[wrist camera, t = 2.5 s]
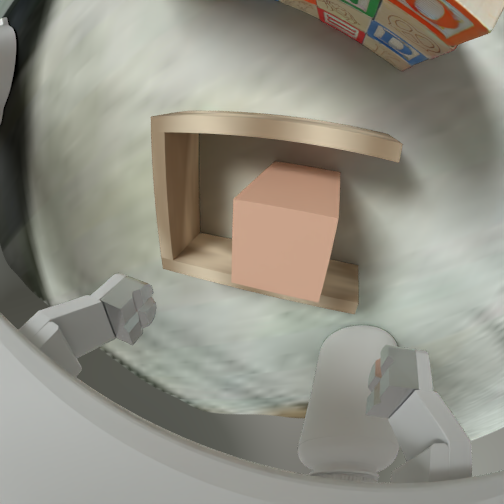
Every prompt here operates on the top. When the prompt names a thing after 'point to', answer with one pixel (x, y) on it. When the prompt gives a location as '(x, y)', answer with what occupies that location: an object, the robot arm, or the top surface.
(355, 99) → the top surface
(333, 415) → the pill bottle
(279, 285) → the terracotta block
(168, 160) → the oak u-shaped frame
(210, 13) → the top surface
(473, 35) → the stack of blocks
